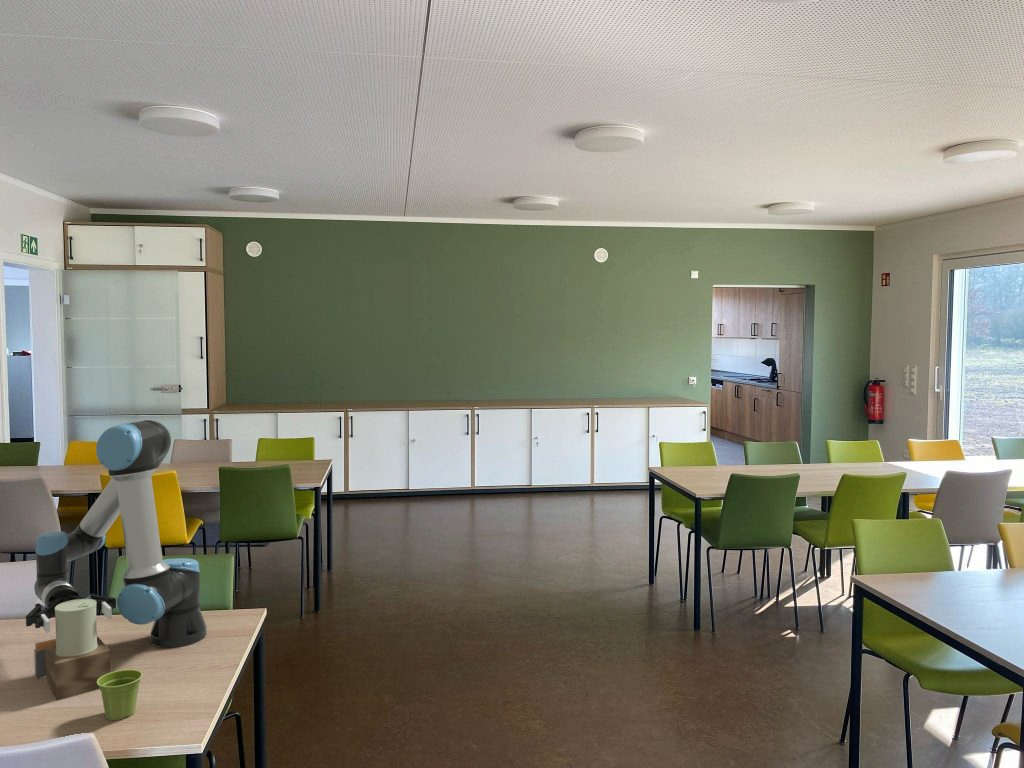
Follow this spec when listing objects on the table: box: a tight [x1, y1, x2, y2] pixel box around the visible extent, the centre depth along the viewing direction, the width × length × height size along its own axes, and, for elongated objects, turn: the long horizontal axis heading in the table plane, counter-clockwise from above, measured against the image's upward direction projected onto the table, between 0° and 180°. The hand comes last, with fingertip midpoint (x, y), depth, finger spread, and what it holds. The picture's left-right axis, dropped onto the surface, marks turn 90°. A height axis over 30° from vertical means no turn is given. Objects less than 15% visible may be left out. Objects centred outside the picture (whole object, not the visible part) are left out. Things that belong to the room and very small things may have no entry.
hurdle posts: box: [33, 635, 99, 679], centre depth 198 cm, size 14×2×7 cm, turn 132°
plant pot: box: [97, 668, 143, 721], centre depth 174 cm, size 9×9×9 cm
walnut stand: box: [45, 636, 112, 701], centre depth 189 cm, size 12×12×9 cm
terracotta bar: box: [34, 638, 56, 651], centre depth 198 cm, size 14×2×2 cm, turn 132°
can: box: [54, 599, 98, 657], centre depth 188 cm, size 9×9×12 cm
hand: (80, 620), depth 186 cm, fingers open, 13 cm apart
